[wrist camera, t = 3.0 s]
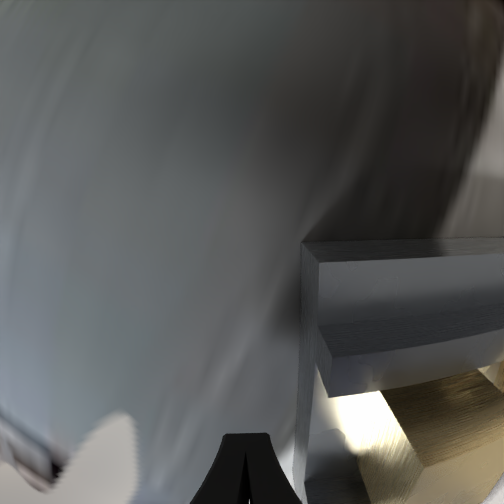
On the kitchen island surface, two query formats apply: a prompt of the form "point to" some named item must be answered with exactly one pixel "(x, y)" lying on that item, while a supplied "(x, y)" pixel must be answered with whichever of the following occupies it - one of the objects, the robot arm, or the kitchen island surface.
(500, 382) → the chip
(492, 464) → the wooden cube
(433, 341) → the slot block
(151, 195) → the kitchen island surface
